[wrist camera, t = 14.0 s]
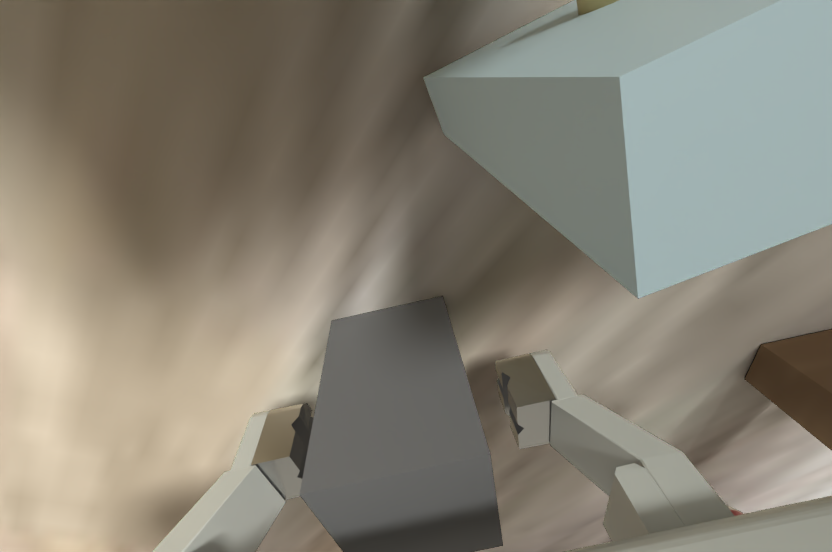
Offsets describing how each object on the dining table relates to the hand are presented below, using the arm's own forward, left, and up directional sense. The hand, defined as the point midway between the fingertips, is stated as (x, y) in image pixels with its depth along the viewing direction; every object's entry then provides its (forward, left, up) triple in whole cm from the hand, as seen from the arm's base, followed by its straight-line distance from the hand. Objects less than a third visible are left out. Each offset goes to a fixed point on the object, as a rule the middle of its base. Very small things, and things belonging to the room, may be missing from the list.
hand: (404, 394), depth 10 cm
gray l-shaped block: (0, 0, -2) cm, 2 cm away
